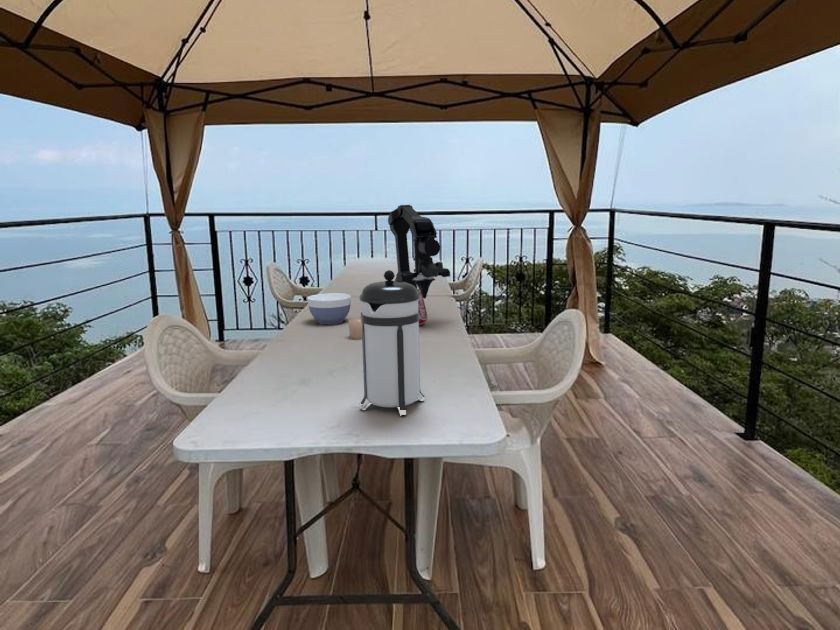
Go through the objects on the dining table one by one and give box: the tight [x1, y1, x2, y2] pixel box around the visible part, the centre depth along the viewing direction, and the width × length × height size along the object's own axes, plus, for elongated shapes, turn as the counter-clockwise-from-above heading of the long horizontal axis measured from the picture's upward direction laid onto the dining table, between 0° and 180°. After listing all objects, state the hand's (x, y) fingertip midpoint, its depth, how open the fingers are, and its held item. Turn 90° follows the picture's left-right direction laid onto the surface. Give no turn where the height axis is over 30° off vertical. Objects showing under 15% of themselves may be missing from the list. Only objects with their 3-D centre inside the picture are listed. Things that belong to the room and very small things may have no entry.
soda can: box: [417, 288, 429, 326], centre depth 202 cm, size 7×7×12 cm
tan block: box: [348, 317, 362, 340], centre depth 187 cm, size 6×6×6 cm
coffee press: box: [359, 269, 425, 410], centre depth 124 cm, size 17×16×30 cm
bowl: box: [307, 292, 352, 325], centre depth 211 cm, size 16×16×10 cm
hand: (424, 298), depth 203 cm, fingers closed
